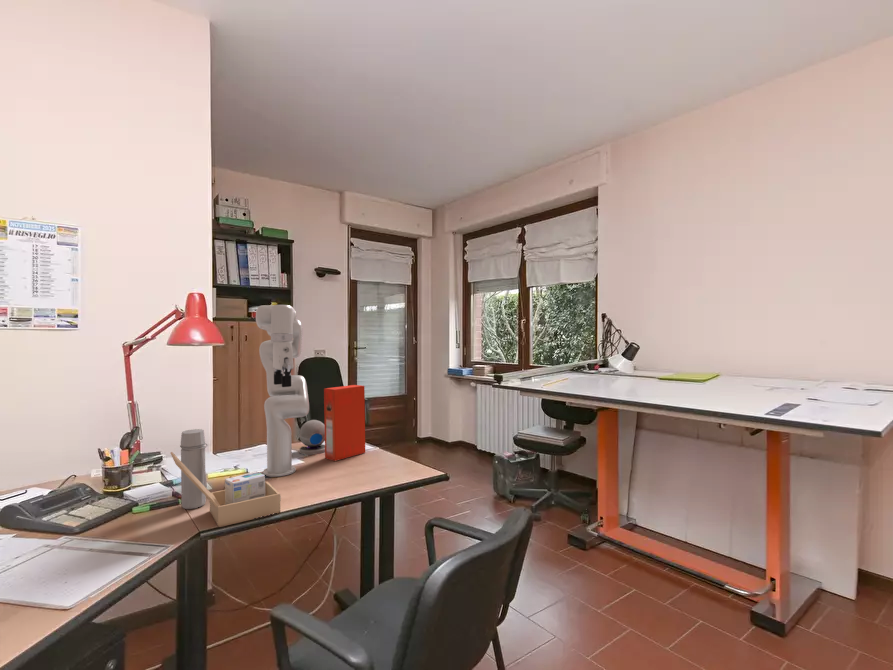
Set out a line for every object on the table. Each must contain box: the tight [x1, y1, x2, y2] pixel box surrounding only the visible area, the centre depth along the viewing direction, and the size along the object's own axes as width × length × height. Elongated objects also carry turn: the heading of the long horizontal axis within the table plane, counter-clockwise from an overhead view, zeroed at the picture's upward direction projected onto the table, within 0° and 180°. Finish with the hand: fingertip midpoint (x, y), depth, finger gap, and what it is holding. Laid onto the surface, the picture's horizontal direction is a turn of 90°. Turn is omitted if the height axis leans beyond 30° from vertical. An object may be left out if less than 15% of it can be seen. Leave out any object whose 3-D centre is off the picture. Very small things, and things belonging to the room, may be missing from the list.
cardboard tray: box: [209, 481, 282, 528], centre depth 145 cm, size 15×18×6 cm
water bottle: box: [179, 428, 208, 510], centre depth 150 cm, size 9×8×25 cm
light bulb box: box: [224, 471, 266, 505], centre depth 145 cm, size 11×7×11 cm, turn 136°
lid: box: [170, 451, 218, 507], centre depth 137 cm, size 15×18×1 cm
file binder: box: [323, 384, 366, 462], centre depth 210 cm, size 8×17×32 cm, turn 141°
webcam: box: [298, 419, 325, 455], centre depth 219 cm, size 13×13×15 cm
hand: (282, 385), depth 165 cm, fingers open, 9 cm apart
